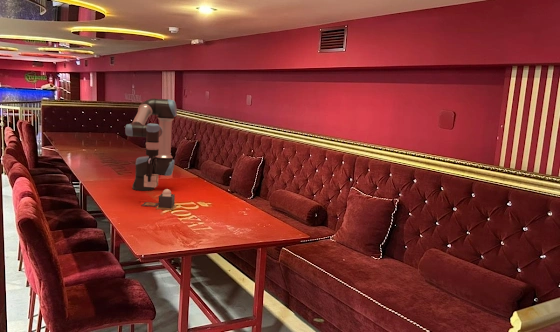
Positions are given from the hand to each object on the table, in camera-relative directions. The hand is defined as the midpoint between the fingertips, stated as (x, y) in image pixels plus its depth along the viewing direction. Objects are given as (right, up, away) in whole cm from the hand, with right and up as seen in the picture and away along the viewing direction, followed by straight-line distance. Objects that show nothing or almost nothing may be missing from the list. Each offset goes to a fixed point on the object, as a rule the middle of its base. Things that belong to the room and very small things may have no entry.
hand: (151, 185), depth 292 cm
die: (0, 0, 0) cm, 0 cm away
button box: (+10, -14, -2) cm, 17 cm away
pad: (-1, -12, +2) cm, 12 cm away
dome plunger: (+10, -11, -3) cm, 16 cm away
